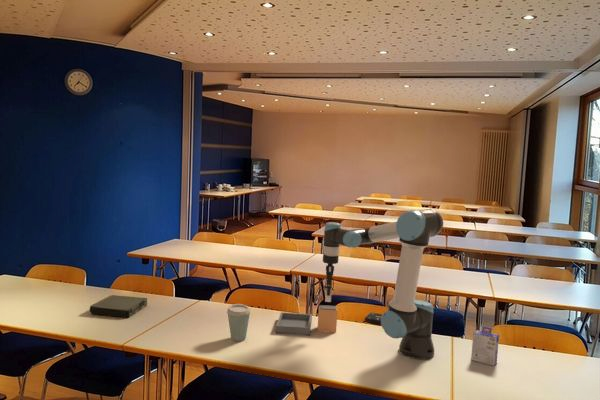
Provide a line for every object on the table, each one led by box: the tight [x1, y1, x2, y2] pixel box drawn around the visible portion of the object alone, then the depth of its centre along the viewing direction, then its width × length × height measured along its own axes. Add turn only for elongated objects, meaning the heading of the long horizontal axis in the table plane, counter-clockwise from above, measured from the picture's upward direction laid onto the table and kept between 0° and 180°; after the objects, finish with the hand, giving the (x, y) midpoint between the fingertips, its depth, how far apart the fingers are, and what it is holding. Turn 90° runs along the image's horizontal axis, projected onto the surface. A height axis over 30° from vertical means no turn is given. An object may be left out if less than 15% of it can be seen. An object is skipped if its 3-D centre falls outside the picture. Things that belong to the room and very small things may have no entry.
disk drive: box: [364, 312, 383, 326], centre depth 252 cm, size 10×3×15 cm
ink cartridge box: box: [470, 326, 500, 366], centre depth 207 cm, size 10×6×14 cm, turn 58°
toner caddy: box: [317, 304, 338, 333], centre depth 236 cm, size 6×9×11 cm, turn 86°
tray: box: [275, 311, 313, 336], centre depth 238 cm, size 20×16×4 cm
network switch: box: [89, 294, 148, 319], centre depth 250 cm, size 23×23×5 cm
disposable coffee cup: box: [226, 303, 251, 342], centre depth 218 cm, size 11×11×15 cm
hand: (328, 297), depth 235 cm, fingers open, 13 cm apart
